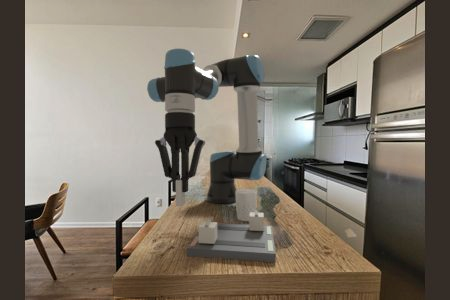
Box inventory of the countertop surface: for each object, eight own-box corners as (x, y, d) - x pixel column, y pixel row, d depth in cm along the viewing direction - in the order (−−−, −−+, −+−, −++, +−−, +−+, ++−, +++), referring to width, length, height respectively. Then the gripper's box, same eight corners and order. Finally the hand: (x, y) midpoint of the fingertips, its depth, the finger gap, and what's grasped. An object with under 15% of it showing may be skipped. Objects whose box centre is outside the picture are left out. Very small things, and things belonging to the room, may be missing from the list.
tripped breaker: (202, 236, 61) (202, 219, 61) (217, 237, 61) (217, 219, 61) (198, 243, 57) (198, 224, 57) (214, 244, 57) (214, 225, 56)
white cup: (256, 222, 79) (256, 193, 79) (233, 221, 80) (233, 192, 80) (257, 215, 87) (257, 189, 86) (237, 214, 88) (236, 188, 88)
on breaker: (250, 225, 69) (250, 210, 69) (263, 225, 69) (263, 210, 69) (249, 230, 65) (249, 214, 65) (263, 231, 65) (263, 214, 64)
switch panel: (204, 228, 74) (204, 222, 73) (271, 232, 70) (271, 225, 70) (186, 256, 56) (186, 247, 56) (275, 262, 53) (275, 253, 53)
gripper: (149, 111, 56) (149, 207, 57) (201, 110, 54) (201, 209, 55) (162, 115, 64) (162, 200, 64) (208, 114, 62) (208, 202, 62)
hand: (180, 204), depth 59 cm, fingers closed
